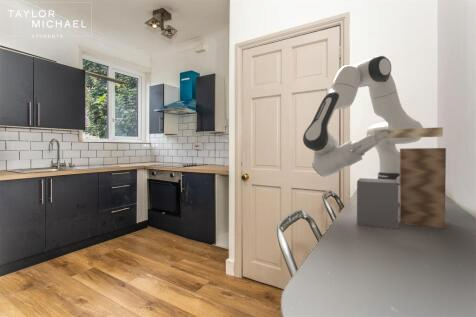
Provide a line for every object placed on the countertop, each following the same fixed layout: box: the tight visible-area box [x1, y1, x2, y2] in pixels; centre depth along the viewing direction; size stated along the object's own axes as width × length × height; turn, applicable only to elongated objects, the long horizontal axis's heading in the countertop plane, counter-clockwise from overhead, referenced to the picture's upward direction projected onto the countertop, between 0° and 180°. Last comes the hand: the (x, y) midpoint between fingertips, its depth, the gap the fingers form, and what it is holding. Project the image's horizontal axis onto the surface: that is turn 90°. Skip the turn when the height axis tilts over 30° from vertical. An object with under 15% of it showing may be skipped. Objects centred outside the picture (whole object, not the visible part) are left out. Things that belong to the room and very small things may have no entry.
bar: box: [374, 126, 444, 138], centre depth 89 cm, size 20×3×3 cm, turn 59°
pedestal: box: [398, 147, 447, 229], centre depth 88 cm, size 12×10×26 cm
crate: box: [356, 177, 399, 230], centre depth 88 cm, size 12×10×15 cm
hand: (387, 132), depth 92 cm, fingers closed on bar, 3 cm apart
